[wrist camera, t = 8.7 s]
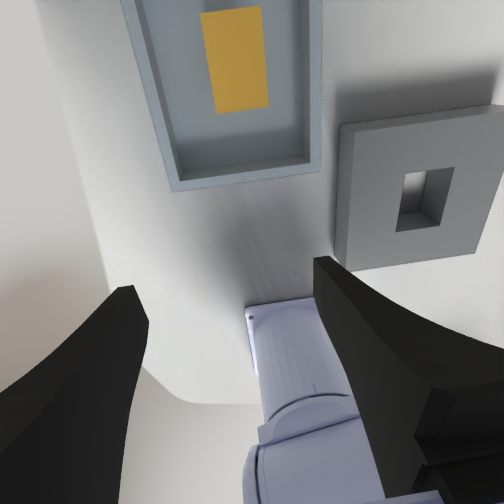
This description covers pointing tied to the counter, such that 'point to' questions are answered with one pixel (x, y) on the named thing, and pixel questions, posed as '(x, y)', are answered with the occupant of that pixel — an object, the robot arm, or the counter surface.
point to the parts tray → (202, 101)
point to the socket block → (435, 191)
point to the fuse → (236, 58)
